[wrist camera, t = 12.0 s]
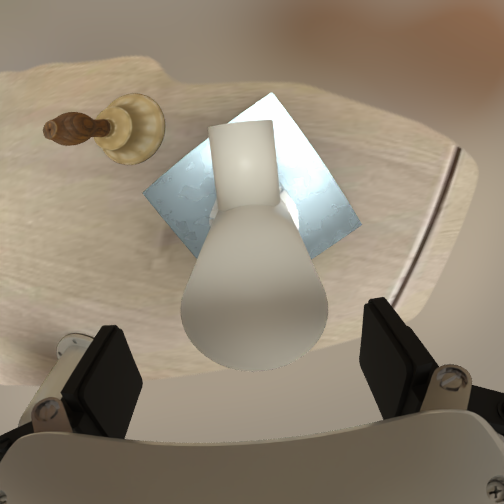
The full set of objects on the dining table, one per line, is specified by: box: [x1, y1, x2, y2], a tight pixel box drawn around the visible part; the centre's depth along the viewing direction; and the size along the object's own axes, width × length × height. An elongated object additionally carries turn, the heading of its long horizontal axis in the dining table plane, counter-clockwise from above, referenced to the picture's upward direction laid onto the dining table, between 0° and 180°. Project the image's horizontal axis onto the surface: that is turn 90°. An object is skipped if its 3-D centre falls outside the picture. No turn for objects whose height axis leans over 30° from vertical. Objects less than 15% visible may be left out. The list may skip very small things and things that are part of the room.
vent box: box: [143, 93, 362, 259], centre depth 29 cm, size 16×16×10 cm
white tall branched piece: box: [181, 120, 328, 372], centre depth 19 cm, size 11×6×16 cm, turn 6°
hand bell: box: [43, 94, 165, 165], centre depth 23 cm, size 8×8×16 cm
